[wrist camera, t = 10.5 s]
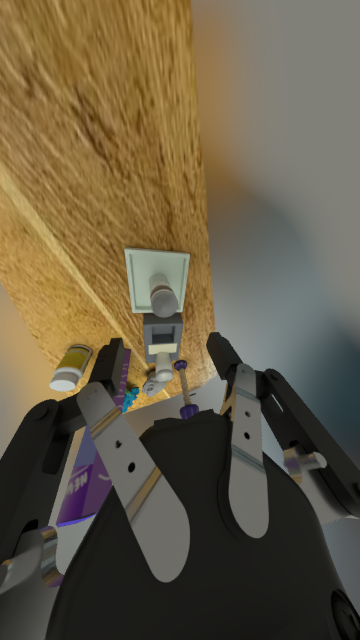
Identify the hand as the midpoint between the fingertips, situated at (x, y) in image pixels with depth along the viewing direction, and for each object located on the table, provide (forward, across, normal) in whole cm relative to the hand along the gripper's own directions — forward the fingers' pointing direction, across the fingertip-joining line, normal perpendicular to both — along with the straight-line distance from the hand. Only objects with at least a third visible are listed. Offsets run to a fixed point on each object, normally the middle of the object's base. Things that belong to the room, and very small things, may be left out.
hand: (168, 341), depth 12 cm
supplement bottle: (+16, +18, +18) cm, 30 cm away
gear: (+16, +10, +39) cm, 43 cm away
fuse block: (+16, -1, +14) cm, 21 cm away
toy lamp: (+16, -7, +27) cm, 32 cm away
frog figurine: (+16, +1, +30) cm, 34 cm away
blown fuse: (+15, 0, 0) cm, 15 cm away
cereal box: (+16, +12, +26) cm, 33 cm away
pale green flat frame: (+16, 0, 0) cm, 16 cm away
